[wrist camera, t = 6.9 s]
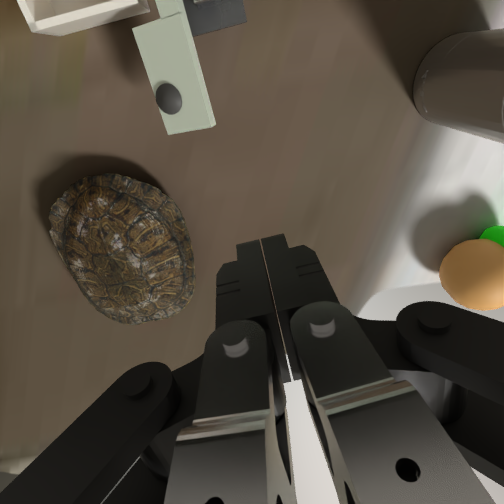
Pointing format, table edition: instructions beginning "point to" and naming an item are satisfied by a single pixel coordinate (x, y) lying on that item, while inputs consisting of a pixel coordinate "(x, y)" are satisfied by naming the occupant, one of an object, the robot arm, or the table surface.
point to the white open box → (77, 14)
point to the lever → (175, 69)
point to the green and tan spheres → (476, 271)
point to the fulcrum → (213, 15)
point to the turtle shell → (125, 247)
